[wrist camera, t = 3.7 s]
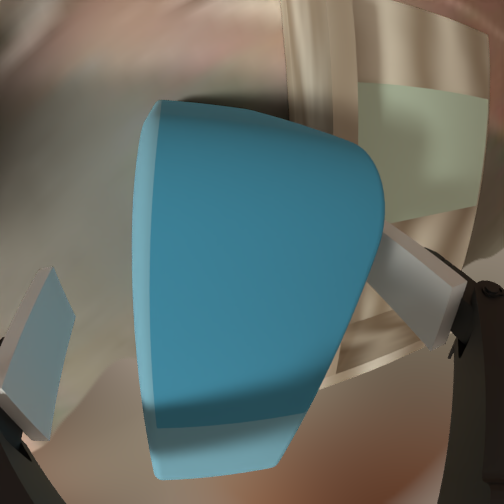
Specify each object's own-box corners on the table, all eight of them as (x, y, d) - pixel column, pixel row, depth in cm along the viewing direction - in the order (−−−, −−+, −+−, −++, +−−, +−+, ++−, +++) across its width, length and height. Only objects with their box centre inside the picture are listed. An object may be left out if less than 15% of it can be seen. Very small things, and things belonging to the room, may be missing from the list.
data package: (215, 303, 21) (272, 478, 10) (144, 303, 19) (157, 492, 9) (245, 108, 15) (410, 164, 5) (155, 98, 14) (137, 120, 4)
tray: (293, 343, 24) (318, 389, 20) (278, -13, 12) (320, -41, 8) (449, 289, 28) (480, 317, 23) (480, 34, 15) (528, 39, 11)
